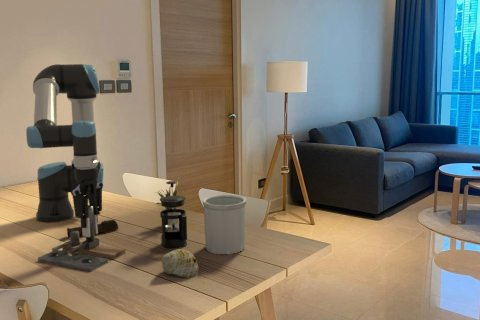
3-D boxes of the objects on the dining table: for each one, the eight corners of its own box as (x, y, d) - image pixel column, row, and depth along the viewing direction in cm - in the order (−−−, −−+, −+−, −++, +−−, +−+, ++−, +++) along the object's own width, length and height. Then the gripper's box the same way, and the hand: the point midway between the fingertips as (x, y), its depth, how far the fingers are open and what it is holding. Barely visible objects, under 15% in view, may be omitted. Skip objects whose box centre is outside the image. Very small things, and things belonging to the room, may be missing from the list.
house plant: (156, 233, 186) (155, 192, 183) (146, 224, 198) (144, 185, 195) (191, 228, 192) (190, 187, 189) (179, 219, 204) (178, 181, 202)
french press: (154, 244, 174) (151, 181, 170) (174, 238, 180) (173, 177, 177) (174, 252, 166) (172, 186, 162) (195, 245, 172) (194, 182, 169)
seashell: (206, 270, 148) (193, 246, 143) (181, 291, 144) (167, 267, 139) (189, 259, 156) (177, 235, 151) (165, 278, 152) (151, 255, 147)
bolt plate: (56, 253, 166) (56, 249, 166) (108, 262, 157) (107, 258, 157) (37, 261, 159) (37, 257, 158) (91, 271, 150) (90, 267, 149)
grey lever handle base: (75, 244, 174) (74, 228, 173) (125, 253, 165) (124, 236, 164) (45, 257, 162) (44, 240, 161) (98, 267, 153) (97, 249, 152)
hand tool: (68, 240, 180) (67, 227, 179) (67, 236, 183) (66, 225, 183) (119, 232, 188) (119, 221, 188) (117, 229, 192) (116, 218, 191)
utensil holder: (237, 257, 160) (237, 206, 157) (196, 252, 165) (195, 202, 162) (252, 243, 174) (251, 196, 171) (214, 239, 179) (213, 192, 176)
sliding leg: (92, 243, 170) (90, 204, 167) (99, 245, 168) (97, 205, 166) (65, 256, 158) (62, 213, 156) (72, 257, 157) (69, 214, 154)
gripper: (77, 172, 153) (82, 243, 157) (110, 164, 168) (114, 229, 172) (59, 170, 156) (64, 240, 160) (93, 162, 171) (97, 226, 175)
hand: (90, 234), depth 166 cm, fingers closed on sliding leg, 3 cm apart
